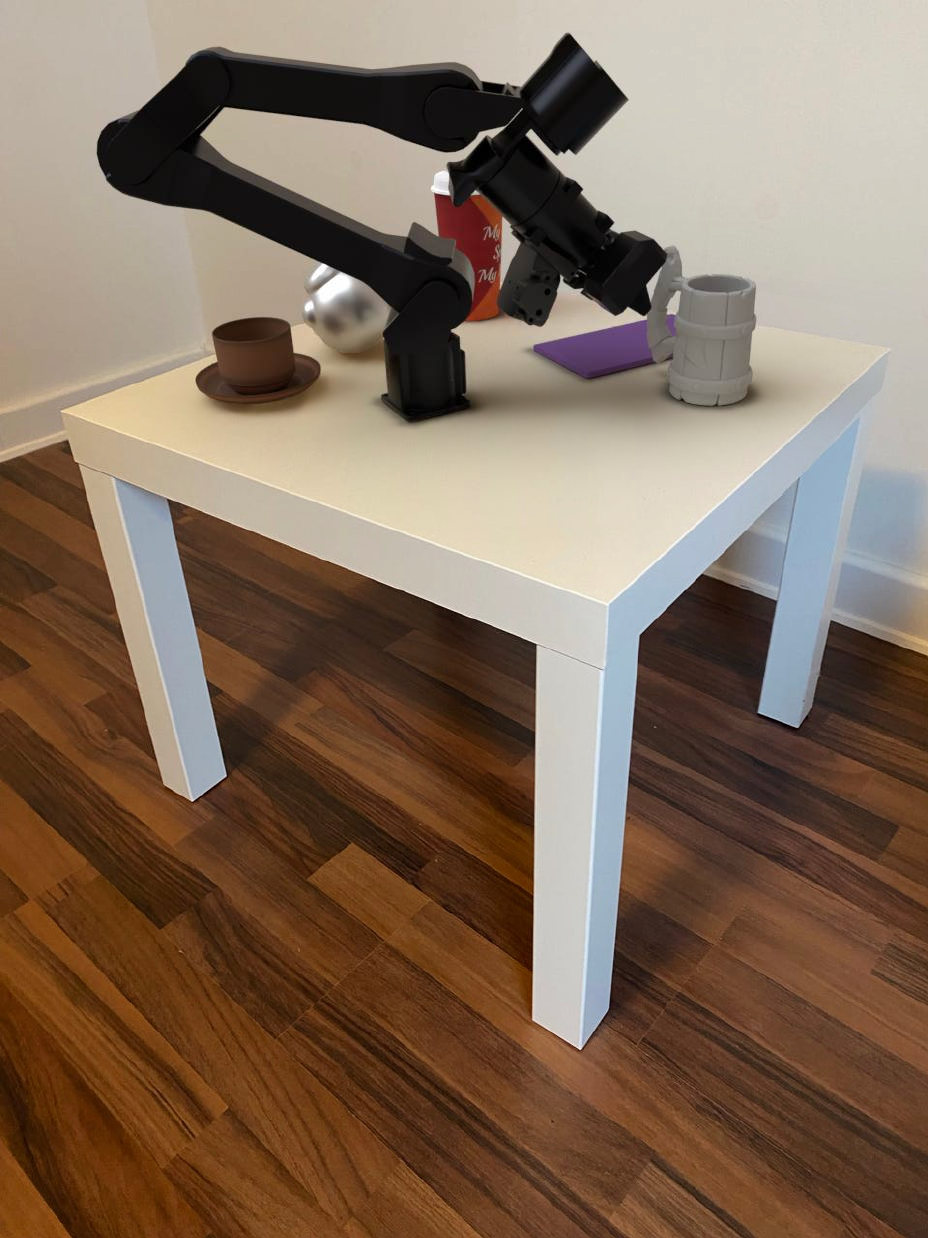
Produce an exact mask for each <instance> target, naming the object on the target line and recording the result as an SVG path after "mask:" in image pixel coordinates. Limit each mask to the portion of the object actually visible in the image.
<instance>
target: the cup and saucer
mask: <svg viewBox="0 0 928 1238" xmlns="http://www.w3.org/2000/svg"><path fill="white" fill-rule="evenodd" d="M291 327H292V326H291V323H290V322H289V321H288V320H285V319H283V318H278V317H273V316H272V317H271V316H254V317H246V318H240V319H234V320H231V321H228V322H227V321H226V322H224V323H222V324H220V325H218V326H216V327H215V328H213V330H212V331H211V337H212V342H213V347H214V351H215V352H214V353H215V356H216V357H215V358H216V362H213V363H211V364H209V365H207V366H205V367H204V368H203V369H201V370H200V371H198V373H197V374H196V376H195V381H194V382H195V385H196V387H197V389H198V390H199V391H200V392H201V393H202V394H203V395H205V396H206V397H208V398H210V399H212V400H213V401H217V402H221V403H225V404H231V405H243V406H244V405H245V406H247V405H249V406H251V405H262V404H270V403H276V402H279V401H283V400H287V399H289V398H293V397H294V396H297V395H299V394H301V393H304V392H305V391H307V390H308V389H309V388H311V387H313V385H314V384H315V383H316V381H317V380H318V379H319V378H320V376H321V371H322V369H321V368H322V366H321V363H320V362H319V361H318V360H317V359H316V358H314V357H312V356H309V355H307V354H303V353H299V352H295V351H294V343H293V336H292V335H293V334H292V328H291Z"/></svg>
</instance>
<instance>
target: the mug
mask: <svg viewBox="0 0 928 1238" xmlns="http://www.w3.org/2000/svg"><path fill="white" fill-rule="evenodd" d="M663 250H664V251H665V252H666V253H667V254H668V255H667V259H666V262H665V263H664V265H663V266H662V267H661V268H660V270H659V274H658V277H657V281H656V284H655V286H654V289H653V294H652V296H651V298H650V302H651V305H652V308H651V310H650V311H649V312H648V313H647V315H646V320H647V342H648V347H649V348H651V351H652V356H653V361H654V363H656V364H660V363H662V362H664V361H666V360H667V359H666V358H667V357H668V356H669V355H670V354H672V353H673V358H672V361H671V363H670V364H669V365H668V367H667V370H666V379H667V382H668V383H669V390H668V391H669V394H670V395H671V396H672V397H673V398H674V399H676V400H677V401H681V400H684V402H685V403H687V404H690V405H699V406H710V407H713V406H715V405H717V406H726V405H731V404H732V405H733V404H735V403H738V402H740V401H742V400H744V398H745V397H746V396H747V393H748V388H749V386H750V385H751V384H752V381H753V375H754V374H753V373H754V372H753V368H752V366H751V364H750V363H751V352H752V342H753V332H754V331H755V329H756V324H757V316H756V314H755V305H756V304H755V303H756V294H757V293H756V292H757V284H756V282H755V281H753V280H752V279H750V278H749V277H743V276H740V275H735V274H727V273H712V274H707V273H706V274H699V275H694V276H690V277H685V276H683V263H682V259H681V254H680V251H679V250H678V248H677V247H676V245H674V244H672V245H668V246H665V247H664V248H663ZM677 291H678V292H680V294H679V302H678V303H679V304H678V311H677V312H676V313H675V314H674V315H675V321H674V328H675V329H676V336H675V337H673V336H672V334H671V332H670V330H669V327H668V326H667V322H666V319H667V315H668V308H667V307H668V305H669V303H670V301H671V299H673V298H674V296H675V295H676V293H677ZM665 359H666V360H665Z"/></svg>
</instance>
